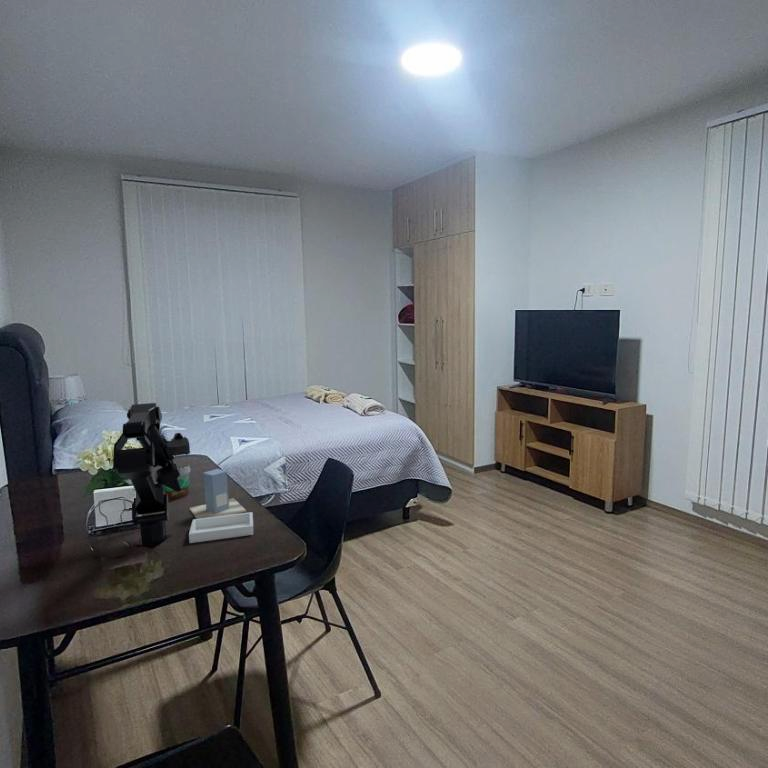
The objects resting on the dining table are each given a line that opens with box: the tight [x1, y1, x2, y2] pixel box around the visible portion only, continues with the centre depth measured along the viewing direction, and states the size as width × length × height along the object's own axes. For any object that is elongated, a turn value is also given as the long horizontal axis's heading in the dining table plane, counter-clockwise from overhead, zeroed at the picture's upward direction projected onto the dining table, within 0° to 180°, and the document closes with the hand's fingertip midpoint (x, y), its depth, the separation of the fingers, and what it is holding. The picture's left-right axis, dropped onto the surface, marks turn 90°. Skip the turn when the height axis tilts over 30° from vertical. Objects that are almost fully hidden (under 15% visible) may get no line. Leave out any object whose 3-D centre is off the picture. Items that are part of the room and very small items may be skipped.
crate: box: [188, 511, 254, 544], centre depth 147 cm, size 17×11×3 cm, turn 104°
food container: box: [162, 463, 192, 501], centre depth 178 cm, size 12×6×10 cm, turn 143°
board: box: [189, 497, 248, 519], centre depth 163 cm, size 14×14×1 cm
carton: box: [202, 468, 230, 513], centre depth 162 cm, size 5×5×12 cm
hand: (177, 482), depth 156 cm, fingers open, 9 cm apart
